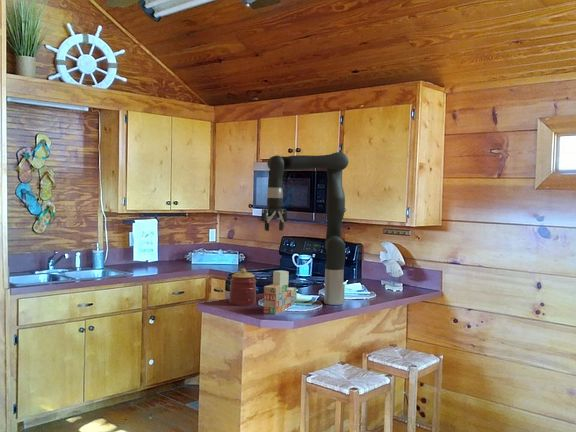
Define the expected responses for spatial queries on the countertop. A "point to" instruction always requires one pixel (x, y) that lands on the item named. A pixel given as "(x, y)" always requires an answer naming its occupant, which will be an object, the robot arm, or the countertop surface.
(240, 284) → the canister
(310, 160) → the robot arm
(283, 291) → the stack of blocks
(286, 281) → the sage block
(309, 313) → the countertop surface
